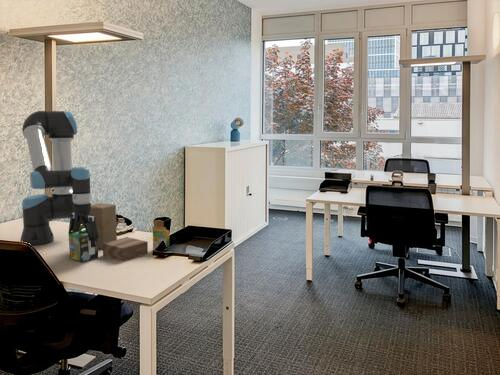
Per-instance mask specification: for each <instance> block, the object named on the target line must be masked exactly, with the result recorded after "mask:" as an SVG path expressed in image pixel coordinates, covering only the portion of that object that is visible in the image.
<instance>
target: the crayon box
mask: <svg viewBox="0 0 500 375" xmlns="http://www.w3.org/2000/svg"><path fill="white" fill-rule="evenodd" d="M162 241H164V243H165V245H166V247H169V248H170V230H168V229H167V227H163V226H152V249H153V251H155V250H154V249H156V248H157V247H158V246H159V244H160V243H161V242H162Z"/></svg>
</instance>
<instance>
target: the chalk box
mask: <svg viewBox="0 0 500 375" xmlns="http://www.w3.org/2000/svg"><path fill="white" fill-rule="evenodd" d="M83 229H84V230H83ZM88 240H89V237H88V234H87V232H86V229H85V227H84V226H83V225H82V226H80V227H79V231H78V232H74V233H70V234H68V247H69V248H68V249H69V259H70V260H74V261H77V262H79V263H82V262H86V261H87V262H88V261H91V260H95V259H98V258H99V248H98V239H95V254H92V255H89V247H88Z"/></svg>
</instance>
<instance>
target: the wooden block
mask: <svg viewBox="0 0 500 375" xmlns="http://www.w3.org/2000/svg"><path fill="white" fill-rule="evenodd" d="M116 208H117V207H116V204H111V203H104V202H103V203H102V202H100V203H95V204H94V203H93V204H91V211H90V216H92V217H93V216H95V222H96V227H97V232H98V236H99V238H98V250H99V249H100V250H103V243H106V242H110V241H114V240H118V237H117V234H118V233H117V209H116Z"/></svg>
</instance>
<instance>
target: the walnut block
mask: <svg viewBox="0 0 500 375" xmlns="http://www.w3.org/2000/svg"><path fill="white" fill-rule="evenodd" d="M148 249H149V247H148V241H146V240H142V239H138V238H133V237H129V236H126V237H121V238H117V240H114V241H110V242H106V243H103V249H102V256H104V257H106V258H107V257H108V258H112V259H115V260H118V261H123V262H125V261H128V260H132V259H135V258H139V257H142V256H145V255H147V254H148V253H149V250H148Z"/></svg>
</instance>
